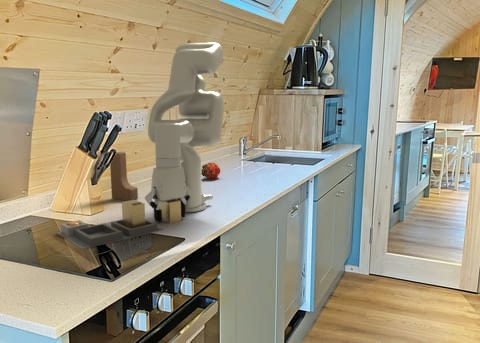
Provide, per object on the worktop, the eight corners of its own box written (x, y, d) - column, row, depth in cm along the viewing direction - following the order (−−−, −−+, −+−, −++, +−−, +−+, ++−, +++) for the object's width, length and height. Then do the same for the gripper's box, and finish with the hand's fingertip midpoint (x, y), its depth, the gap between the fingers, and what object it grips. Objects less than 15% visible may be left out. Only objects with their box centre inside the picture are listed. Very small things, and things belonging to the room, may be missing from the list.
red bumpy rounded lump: (203, 184, 210) (214, 183, 222) (217, 174, 208) (228, 174, 219) (194, 169, 212) (205, 168, 223) (208, 159, 209) (219, 159, 221)
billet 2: (170, 221, 146) (169, 196, 144) (181, 225, 141) (180, 200, 140) (159, 224, 143) (158, 198, 142) (170, 228, 139) (169, 202, 137)
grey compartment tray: (132, 221, 146) (132, 209, 145) (163, 234, 132) (162, 221, 132) (56, 238, 130) (55, 224, 129) (82, 254, 117) (81, 239, 116)
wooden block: (138, 198, 177) (136, 152, 174) (131, 201, 173) (129, 154, 170) (118, 197, 180) (116, 151, 177) (111, 199, 176) (109, 153, 172)
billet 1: (135, 225, 136) (134, 199, 135) (145, 230, 132) (144, 202, 130) (123, 228, 134) (121, 201, 132) (133, 233, 129) (131, 205, 128)
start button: (77, 229, 132) (76, 221, 132) (81, 231, 130) (80, 223, 130) (67, 231, 130) (67, 223, 130) (71, 233, 128) (70, 225, 128)
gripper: (185, 158, 147) (186, 211, 150) (136, 164, 136) (139, 221, 139) (199, 161, 142) (200, 216, 145) (149, 167, 130) (152, 227, 133)
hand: (170, 218), depth 142 cm, fingers open, 7 cm apart
